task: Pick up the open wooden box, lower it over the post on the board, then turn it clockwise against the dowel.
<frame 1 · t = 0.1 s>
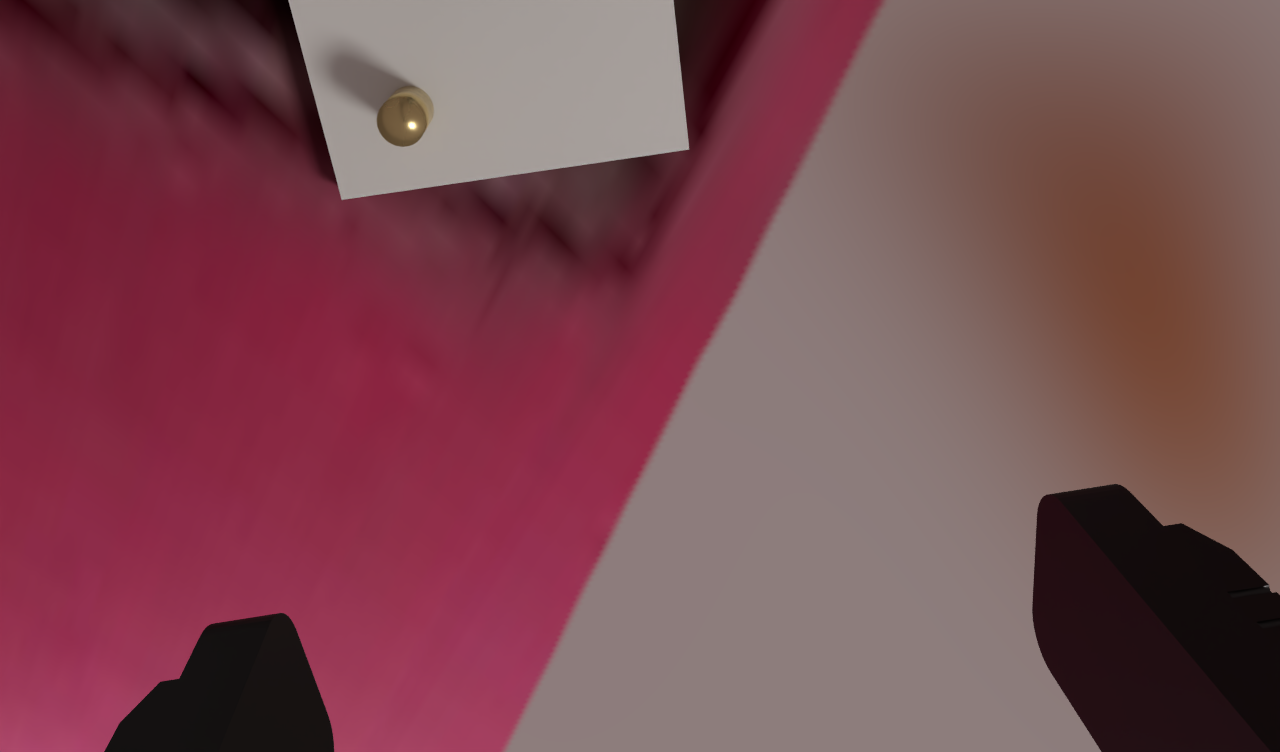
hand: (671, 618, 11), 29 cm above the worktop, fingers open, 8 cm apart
dowel: (406, 115, 34), on the board, point 2 cm above the worktop
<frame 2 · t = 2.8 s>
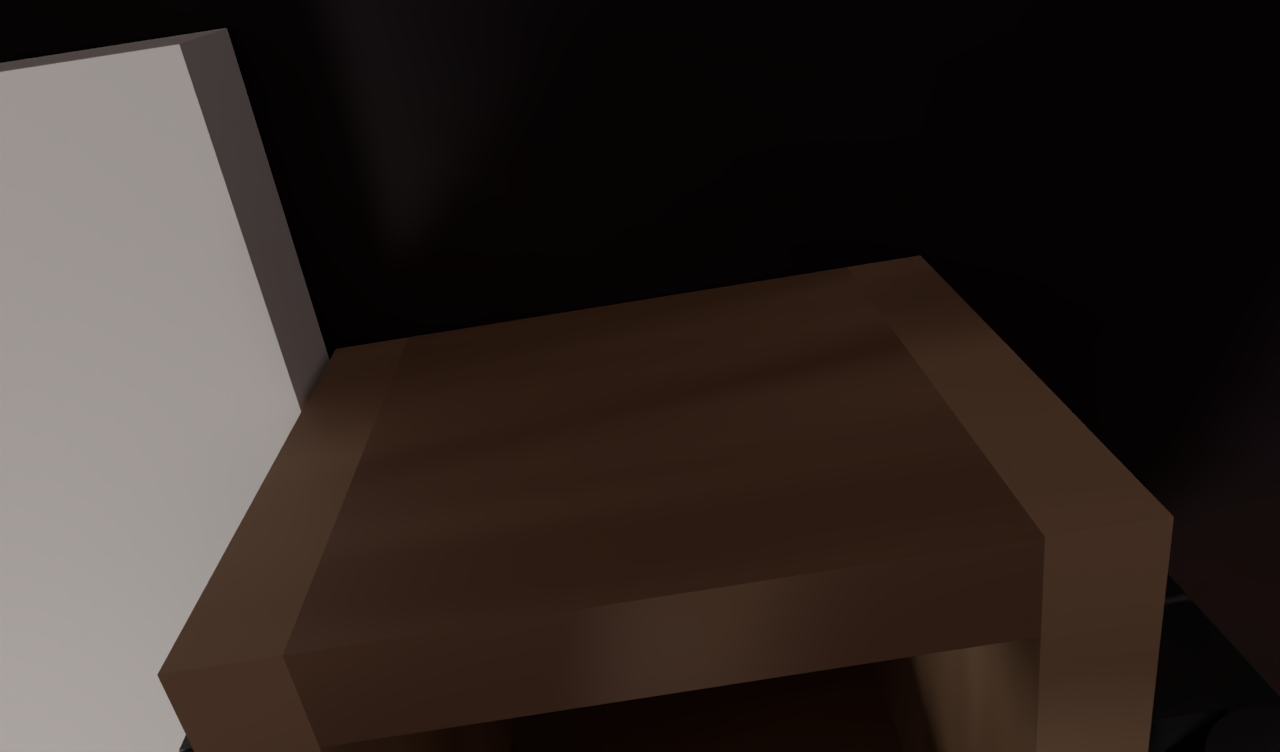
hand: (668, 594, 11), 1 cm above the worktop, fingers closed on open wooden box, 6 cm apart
when the fingers open (2 cm above the worktop, at t = 8.6 s): open wooden box stays where it is, resting on board.
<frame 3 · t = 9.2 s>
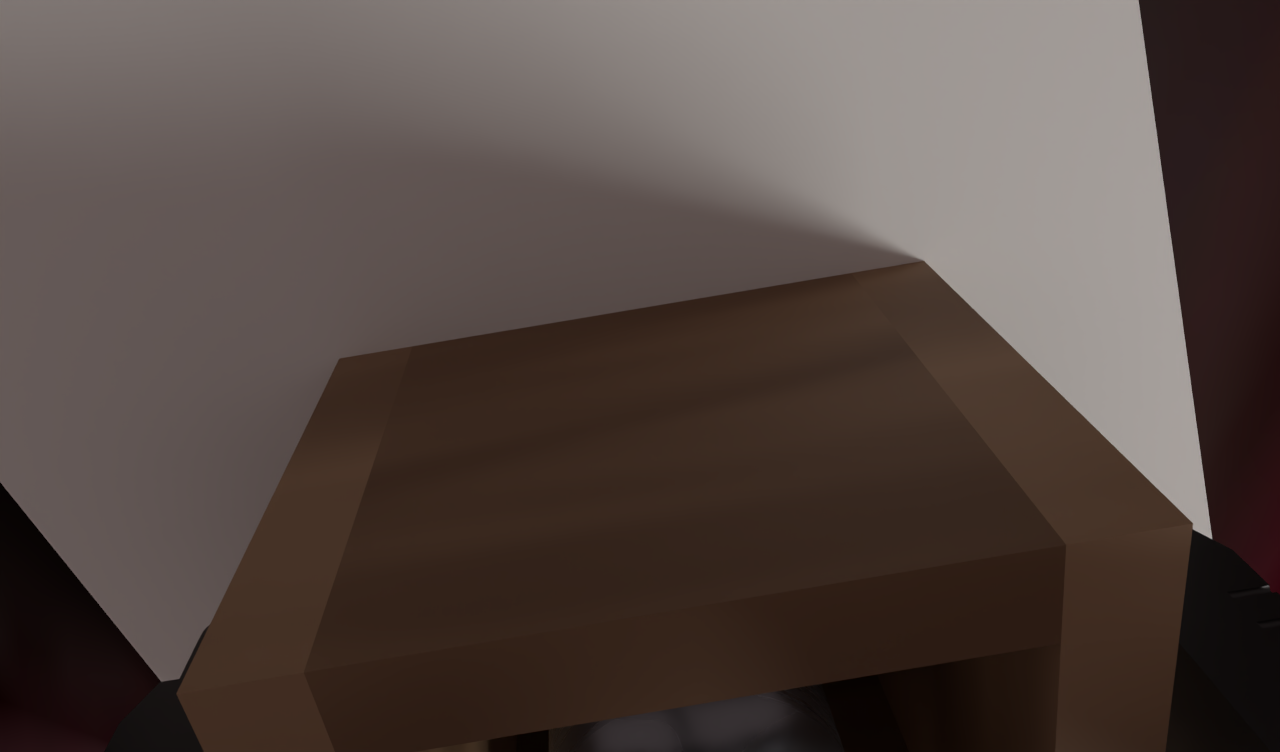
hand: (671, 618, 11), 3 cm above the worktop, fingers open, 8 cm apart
post: (676, 649, 10), on the board, point 3 cm above the worktop
board: (650, 484, 13), on the worktop
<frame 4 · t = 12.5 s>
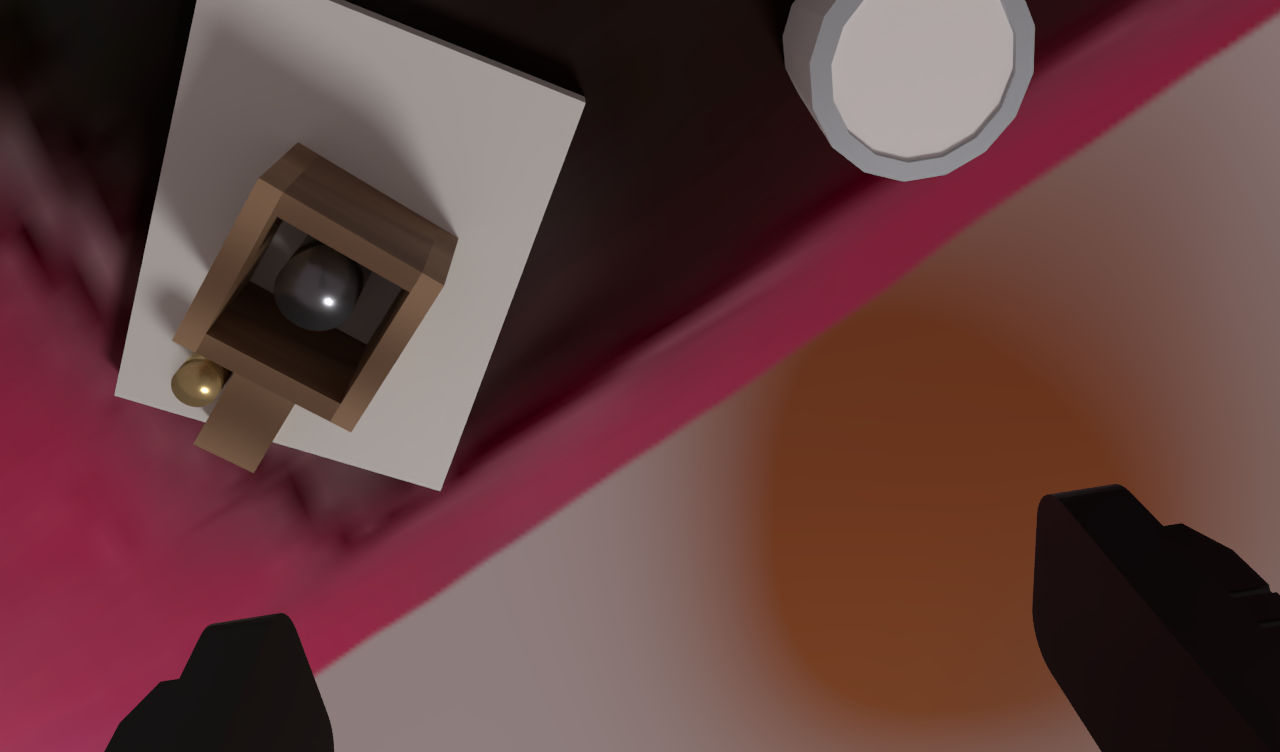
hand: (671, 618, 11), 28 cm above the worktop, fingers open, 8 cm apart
post: (327, 274, 34), on the board, point 3 cm above the worktop
open wooden box: (261, 395, 38), point 1 cm above the worktop, touching board
shot glass: (857, 38, 36), on the worktop
board: (345, 246, 37), on the worktop
dowel: (205, 372, 36), on the board, point 2 cm above the worktop
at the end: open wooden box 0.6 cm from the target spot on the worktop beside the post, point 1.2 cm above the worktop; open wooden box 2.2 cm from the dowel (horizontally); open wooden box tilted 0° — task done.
